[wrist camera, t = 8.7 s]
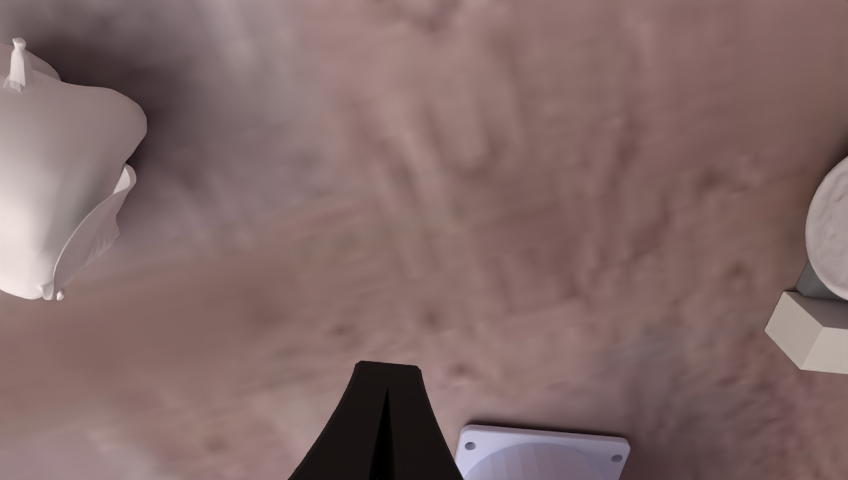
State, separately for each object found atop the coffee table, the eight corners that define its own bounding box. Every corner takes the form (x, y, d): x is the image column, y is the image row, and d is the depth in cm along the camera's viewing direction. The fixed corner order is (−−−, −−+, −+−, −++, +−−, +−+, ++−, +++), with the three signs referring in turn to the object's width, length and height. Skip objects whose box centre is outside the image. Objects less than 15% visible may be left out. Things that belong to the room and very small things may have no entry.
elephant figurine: (-60, 217, 21) (-268, 328, 15) (-28, -36, 17) (-289, -34, 11) (142, 293, 23) (34, 424, 16) (213, 77, 19) (108, 138, 12)
